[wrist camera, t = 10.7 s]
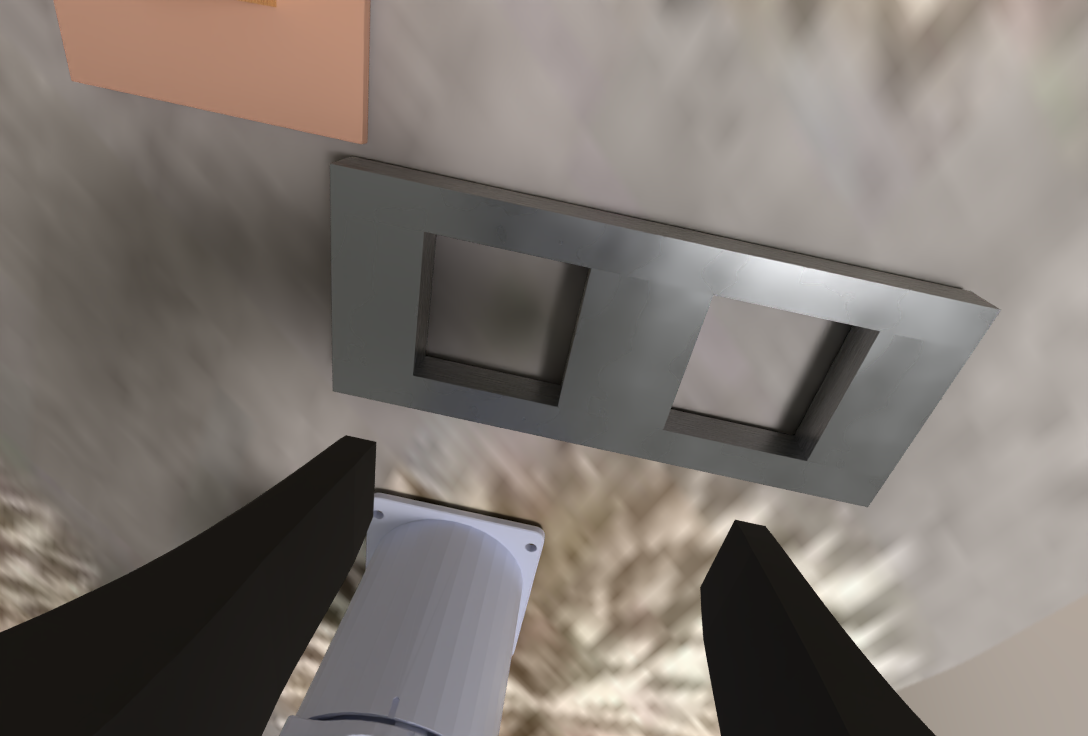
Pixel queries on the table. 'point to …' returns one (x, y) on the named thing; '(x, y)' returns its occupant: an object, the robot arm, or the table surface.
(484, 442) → the table surface
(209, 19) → the terracotta mat
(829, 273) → the metal rail
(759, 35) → the table surface
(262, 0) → the cube with round inset
